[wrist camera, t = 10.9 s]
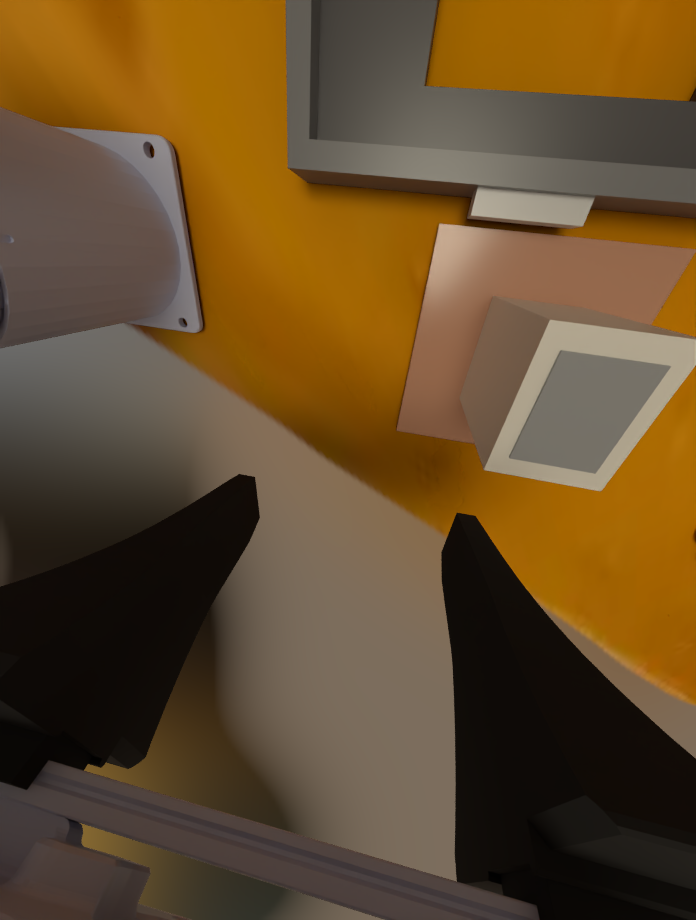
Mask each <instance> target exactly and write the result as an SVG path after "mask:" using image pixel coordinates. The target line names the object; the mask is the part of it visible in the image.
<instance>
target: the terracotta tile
mask: <svg viewBox="0 0 696 920" xmlns="http://www.w3.org/2000/svg"><path fill="white" fill-rule="evenodd" d="M695 252H696V249H686V248H676V247H666V246H657V245H647V244H637V243H627V242H617V241H607V240H597V239H587V238H577V237H568V236H558V235H548V234H538V233H528V232H518V231H508V230H498V229H488V228H478V227H469V226H459V225H449V224H439V226H438V231H437V235H436V240H435V245H434V250H433V255H432V259H431V264H430V269H429V274H428V279H427V283H426V288H425V293H424V298H423V303H422V307H421V312H420V317H419V322H418V327H417V331H416V336H415V341H414V346H413V351H412V355H411V360H410V365H409V370H408V375H407V379H406V384H405V389H404V394H403V399H402V403H401V408H400V413H399V418H398V423H397V429H396V431H401V432H407V433H413V434H419V435H425V436H431V437H437V438H443V439H449V440H455V441H461V442H467V443H473V444H475V443H474V440H473V437H472V434H471V431H470V428H469V425H468V422H467V419H466V416H465V413H464V410H463V407H462V404H461V401H460V394H461V391H462V388H463V385H464V382H465V379H466V376H467V373H468V370H469V367H470V364H471V361H472V358H473V355H474V352H475V349H476V346H477V343H478V340H479V337H480V334H481V331H482V328H483V325H484V322H485V319H486V316H487V313H488V310H489V307H490V304H491V301H492V298H493V296H499V297H507V298H514V299H522V300H530V301H537V302H545V303H552V304H560V305H568V306H575V307H583V308H588V309H591V310H595V311H599V312H603V313H606V314H610V315H614V316H618V317H621V318H625V319H629V320H633V321H637V322H640V323H644V324H648V325H651V324H652V322H653V321H654V319H655V317H656V316H657V314H658V312H659V311H660V309H661V307H662V306H663V304H664V303H665V301H666V299H667V298H668V296H669V294H670V293H671V291H672V289H673V288H674V286H675V285H676V283H677V281H678V280H679V278H680V276H681V275H682V273H683V271H684V270H685V268H686V267H687V265H688V263H689V262H690V260H691V258H692V257H693V255H694V253H695Z"/></svg>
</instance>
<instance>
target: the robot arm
mask: <svg viewBox="0 0 696 920" xmlns="http://www.w3.org/2000/svg"><path fill="white" fill-rule="evenodd" d="M151 145H152V146H153V148H154V150H155V155H154V157H153V158H152V157H151V154H150V146H151ZM183 318H184V319H185V320H186V321H187V326H186V325H185V324H184V322H183ZM119 323H129V324H136V325H143V326H149V327H156V328H163V329H170V330H177V331H183V332H190V333H197V332H200V331H201V330H202V328H203V322H202V316H201V309H200V303H199V297H198V291H197V285H196V279H195V273H194V266H193V260H192V254H191V248H190V242H189V236H188V230H187V224H186V217H185V211H184V205H183V199H182V193H181V187H180V181H179V174H178V168H177V162H176V156H175V152H174V148H173V146H172V145H171V143H170V142H169V141H168V140H167V139H165V138H163V137H161V136H159V135H152V134H139V133H127V132H115V131H102V130H90V129H77V128H65V127H52V126H49V125H47V124H44V123H41V122H39V121H36V120H33V119H31V118H28V117H26V116H23V115H20V114H18V113H15V112H12V111H10V110H7V109H4V108H2V107H0V348H4V347H9V346H14V345H18V344H23V343H28V342H32V341H38V340H42V339H47V338H52V337H57V336H61V335H66V334H71V333H76V332H81V331H86V330H90V329H95V328H100V327H105V326H110V325H114V324H119ZM259 518H260V516H259V507H258V499H257V490H256V482H255V477H252V476H247V475H241V474H239V475H237V476H235V477H234V478H232V479H230V480H229V481H227V482H225V483H224V484H222V485H221V486H219V487H218V488H216V489H214V490H213V491H211V492H210V493H208V494H207V495H205V496H203V497H202V498H200V499H198V500H197V501H195V502H194V503H192V504H190V505H189V506H187V507H185V508H184V509H182V510H180V511H178V512H176V513H175V514H173V515H171V516H169V517H168V518H166V519H164V520H162V521H161V522H159V523H157V524H155V525H153V526H152V527H149V528H147V529H145V530H144V531H142V532H140V533H137V534H135V535H133V536H131V537H129V538H127V539H125V540H123V541H121V542H118V543H116V544H114V545H112V546H109V547H107V548H105V549H102V550H100V551H97V552H95V553H93V554H90V555H88V556H86V557H83V558H81V559H78V560H76V561H73V562H71V563H68V564H65V565H63V566H60V567H57V568H54V569H52V570H49V571H47V572H43V573H40V574H38V575H35V576H32V577H29V578H26V579H23V580H20V581H17V582H14V583H11V584H8V585H4V586H1V587H0V920H191V919H187V918H184V917H181V916H177V915H174V914H170V913H167V912H164V911H161V910H158V909H154V908H151V907H148V906H144V905H141V904H138V902H139V899H140V897H141V894H142V892H143V890H144V887H145V885H146V883H147V880H148V878H149V876H150V868H149V867H146V866H143V865H140V864H138V863H135V862H132V861H129V860H126V859H123V858H120V857H117V856H114V855H111V854H107V853H104V852H101V851H97V850H93V849H90V848H86V847H84V846H83V845H82V843H81V839H82V835H83V828H82V825H81V824H80V823H82V824H85V825H88V826H91V827H95V828H98V829H101V830H104V831H107V832H111V833H113V834H117V835H120V836H123V837H126V838H129V839H132V840H135V841H139V842H142V843H145V844H148V845H151V846H155V847H157V848H161V849H164V850H167V851H170V852H173V853H176V854H180V855H183V856H186V857H189V858H192V859H196V860H198V861H202V862H205V863H208V864H211V865H214V866H217V867H221V868H224V869H227V870H230V871H234V872H236V873H240V874H243V875H246V876H249V877H252V878H255V879H258V880H262V881H265V882H268V883H271V884H274V885H278V886H280V887H283V888H287V889H290V890H293V891H296V892H300V893H302V894H306V895H309V896H312V897H315V898H318V899H321V900H324V901H328V902H331V903H334V904H337V905H340V906H343V907H347V908H350V909H353V910H356V911H359V912H362V913H365V914H369V915H372V916H375V917H378V918H381V919H385V920H696V759H695V758H694V757H693V756H692V755H691V754H690V753H688V752H687V751H686V750H685V749H684V748H682V747H681V746H680V745H679V744H678V743H676V742H675V741H674V740H673V739H672V738H671V737H669V735H667V734H666V733H665V732H664V731H663V730H662V729H661V728H660V727H659V726H657V725H656V724H655V723H654V722H653V721H652V720H651V719H650V718H649V717H648V716H646V715H645V714H644V713H643V712H642V711H641V710H640V709H639V708H638V707H636V706H635V705H634V704H633V703H632V702H631V701H630V700H629V699H628V698H627V697H626V696H625V695H624V694H623V693H622V692H621V691H620V690H618V689H617V688H616V687H615V686H614V685H613V684H612V683H611V682H610V681H609V680H608V679H607V678H606V677H605V676H604V675H603V674H602V673H601V672H600V671H599V670H598V669H597V668H596V667H595V666H594V665H593V664H592V663H591V662H590V661H589V660H588V659H587V658H586V657H585V656H584V655H583V654H582V653H581V652H580V651H579V649H578V648H577V647H576V646H575V645H574V644H573V643H572V642H571V641H570V640H569V639H568V638H567V637H566V635H565V634H564V633H563V632H562V631H561V630H560V629H559V628H558V626H557V625H556V624H555V623H554V622H553V621H552V620H551V619H550V618H549V616H548V615H547V614H546V613H545V612H544V610H543V609H542V608H541V607H540V606H539V604H538V603H537V602H536V601H535V599H534V598H533V597H532V596H531V594H530V593H529V592H528V591H527V589H526V588H525V587H524V586H523V584H522V583H521V582H520V580H519V579H518V578H517V576H516V575H515V573H514V572H513V571H512V569H511V568H510V566H509V565H508V564H507V562H506V561H505V559H504V558H503V557H502V555H501V554H500V552H499V551H498V549H497V548H496V546H495V545H494V543H493V542H492V540H491V539H490V537H489V536H488V534H487V533H486V531H485V530H484V528H483V527H482V525H481V524H480V522H479V521H478V519H477V518H476V516H472V515H467V514H461V513H457V514H456V516H455V519H454V521H453V524H452V527H451V529H450V532H449V534H448V537H447V540H446V542H445V545H444V547H443V550H442V586H443V593H444V601H445V608H446V615H447V623H448V630H449V637H450V644H451V653H452V662H453V684H454V710H455V757H456V758H455V760H456V812H455V816H456V817H455V819H456V821H455V827H456V828H455V863H456V875H457V882H456V881H453V880H449V879H446V878H443V877H439V876H436V875H432V874H429V873H426V872H422V871H419V870H416V869H412V868H409V867H405V866H402V865H399V864H396V863H392V862H389V861H385V860H382V859H379V858H375V857H372V856H369V855H365V854H362V853H358V852H355V851H352V850H349V849H345V848H342V847H338V846H335V845H332V844H328V843H325V842H321V841H318V840H315V839H312V838H308V837H305V836H301V835H298V834H295V833H291V832H288V831H284V830H281V829H278V828H275V827H271V826H268V825H264V824H261V823H258V822H254V821H251V820H248V819H244V818H241V817H238V816H234V815H231V814H228V813H224V812H221V811H218V810H214V809H211V808H207V807H204V806H201V805H197V804H194V803H191V802H187V801H183V800H181V799H177V798H174V797H171V796H167V795H164V794H160V793H157V792H153V791H150V790H147V789H144V788H140V787H137V786H133V785H130V784H127V783H123V782H120V781H117V780H113V779H110V778H106V777H103V776H100V775H96V774H93V773H90V772H87V771H84V769H85V768H86V766H87V764H90V765H94V766H98V767H102V766H103V765H104V764H105V763H106V762H107V763H110V764H113V765H117V766H120V767H124V768H127V769H129V768H131V767H133V766H135V765H136V764H138V763H139V762H140V761H142V760H143V759H144V758H145V757H146V755H147V752H148V749H149V747H150V744H151V741H152V739H153V736H154V734H155V731H156V729H157V726H158V724H159V721H160V719H161V716H162V714H163V711H164V709H165V706H166V703H167V701H168V699H169V697H170V694H171V692H172V690H173V687H174V685H175V682H176V680H177V678H178V675H179V673H180V671H181V668H182V666H183V664H184V662H185V660H186V657H187V655H188V653H189V651H190V649H191V646H192V644H193V642H194V640H195V638H196V636H197V634H198V631H199V629H200V627H201V625H202V623H203V621H204V619H205V617H206V615H207V613H208V611H209V609H210V607H211V605H212V603H213V602H214V600H215V598H216V596H217V594H218V593H219V591H220V589H221V588H222V586H223V585H224V583H225V581H226V580H227V578H228V576H229V574H230V573H231V571H232V570H233V568H234V566H235V565H236V563H237V561H238V560H239V558H240V556H241V555H242V553H243V551H244V550H245V548H246V546H247V545H248V543H249V541H250V539H251V537H252V534H253V532H254V530H255V528H256V525H257V523H258V520H259Z"/></svg>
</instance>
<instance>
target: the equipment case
mask: <svg viewBox="0 0 696 920" xmlns="http://www.w3.org/2000/svg"><path fill="white" fill-rule="evenodd" d="M438 7H439V0H286V54H287V132H288V168H289V169H290V170H291V171H293V172H294V173H295V174H297V175H298V176H299V177H301V178H302V179H303V180H305V181H306V182H307V183H318V184H329V185H340V186H351V187H362V188H373V189H383V190H394V191H405V192H416V193H427V194H438V195H449V196H460V197H470V198H472V200H471V204H470V208H469V212H468V216H467V219H477V220H487V221H497V222H507V223H517V224H527V225H537V226H548V227H558V228H568V229H573V228H577V227H582V226H583V225H584V222H585V220H586V218H587V215H588V213H589V211H590V209H601V210H612V211H623V212H634V213H644V214H655V215H666V216H677V217H688V218H696V90H695V92H694V94H693V96H692V98H691V100H690V101H673V100H656V99H639V98H622V97H604V96H587V95H570V94H553V93H535V92H518V91H501V90H484V89H467V88H449V87H432V86H426V83H427V77H428V70H429V64H430V57H431V51H432V45H433V38H434V32H435V26H436V19H437V13H438Z"/></svg>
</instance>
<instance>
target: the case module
mask: <svg viewBox="0 0 696 920" xmlns="http://www.w3.org/2000/svg"><path fill="white" fill-rule="evenodd" d="M695 365H696V337H693V336H689V335H686V334H682V333H678V332H674V331H670V330H667V329H663V328H659V327H655V326H652V325H648V324H644V323H640V322H637V321H633V320H629V319H625V318H621V317H618V316H614V315H610V314H606V313H603V312H599V311H595V310H591V309H588V308H583V307H575V306H568V305H560V304H552V303H545V302H537V301H530V300H522V299H514V298H507V297H499V296H493V298H492V301H491V304H490V307H489V310H488V313H487V316H486V319H485V322H484V325H483V328H482V331H481V334H480V337H479V340H478V343H477V346H476V349H475V352H474V355H473V358H472V361H471V364H470V367H469V370H468V373H467V376H466V379H465V382H464V385H463V388H462V391H461V394H460V401H461V404H462V407H463V410H464V413H465V416H466V419H467V422H468V425H469V428H470V431H471V434H472V437H473V440H474V443H475V445H476V448H477V451H478V454H479V457H480V460H481V463H482V466H483V469H484V470H487V471H493V472H498V473H503V474H509V475H514V476H520V477H525V478H531V479H536V480H542V481H547V482H553V483H558V484H563V485H569V486H574V487H580V488H585V489H591V490H596V491H602V489H603V488H604V487H605V485H606V484H607V483H608V481H609V480H610V479H611V477H612V476H613V475H614V473H615V472H616V471H617V469H618V468H619V467H620V465H621V464H622V463H623V461H624V460H625V459H626V457H627V456H628V455H629V453H630V452H631V451H632V449H633V448H634V447H635V445H636V444H637V443H638V441H639V440H640V439H641V437H642V436H643V435H644V433H645V432H646V431H647V429H648V428H649V427H650V425H651V424H652V423H653V421H654V420H655V419H656V417H657V416H658V415H659V413H660V412H661V411H662V409H663V408H664V407H665V405H666V404H667V403H668V401H669V400H670V399H671V397H672V396H673V395H674V393H675V392H676V391H677V389H678V388H679V387H680V385H681V384H682V383H683V381H684V380H685V379H686V377H687V376H688V375H689V373H690V372H691V371H692V369H693V368H694V367H695Z"/></svg>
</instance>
